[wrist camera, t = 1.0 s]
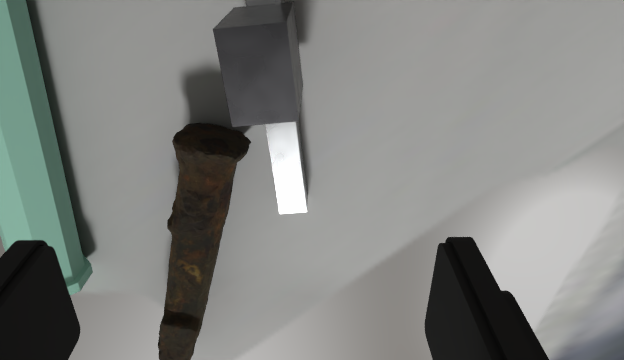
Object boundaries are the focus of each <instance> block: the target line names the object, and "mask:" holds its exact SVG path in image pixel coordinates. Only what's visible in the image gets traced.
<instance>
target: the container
mask: <svg viewBox="0 0 624 360" xmlns="http://www.w3.org/2000/svg"><path fill="white" fill-rule="evenodd" d="M0 236H1V239H2V243H3V246H4V249H5V252H6V251H7V250H8V248H9V247H10V246H11V245H12V244H13V243H14V242H15V241H18V240H43V241H45V242H46V243H47V245H48V246H52V247H53V248H54V250H55V252H56V255H57V258H58V261H59V264H60V267H61V270H62V273H63V276H64V279H65V282H66V285H67V288H68V291H69V294H70V295H72V294H74V293H77V292H79V291H80V290H81V289H82V287H83V286H84V284H85V283H86V281H87V280H88V278H89V277H90V275H91V274H92V272H93V271H92V267H91V263H90V262H89V261H88V260H87V259H86V257H85V256H84V255H83V254H82V251H81V246H80V242H79V237H78V233H77V228H76V224H75V219H74V215H73V210H72V206H71V201H70V197H69V192H68V188H67V183H66V179H65V174H64V170H63V165H62V161H61V156H60V152H59V147H58V143H57V138H56V134H55V129H54V125H53V120H52V116H51V111H50V107H49V102H48V98H47V93H46V89H45V84H44V80H43V75H42V71H41V66H40V62H39V58H38V53H37V49H36V44H35V40H34V35H33V31H32V26H31V22H30V17H29V13H28V8H27V4H26V0H0Z"/></svg>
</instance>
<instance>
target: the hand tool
mask: <svg viewBox="0 0 624 360" xmlns="http://www.w3.org/2000/svg"><path fill="white" fill-rule="evenodd" d="M173 138H174V139H173V141H172V142H173V145H174V148H175V151H176V158H177V160H178V161H179V168H180V173H179V178H178V186H177V193H176V199H175V201H174V203H173V207H172V210H173V212H172V214H171V216H170V218H169V219H168V229H169V231H170V232H171V234H172V243H171V252H170V259H169V272H168V282H167V292H166V300H165V307H164V316H163V319H162V321H161V325H160V331H159V335H160V336H159V342H158V348H159V359H160V360H190V359H191V357H192V355H193V353H194V347H195V343H196V339H197V337H198V336H199V332H200V329H201V326H202V321H203V316H204V313H205V309H206V305H207V301H208V293H209V289H210V285H211V281H212V277H213V272H214V268H215V264H216V259H217V255H218V250H219V245H220V240H221V237H222V231H223V227H224V224H225V220H226V217H227V214H228V210H229V204H230V198H231V193H232V185H233V178H234V174H235V169H236V165H237V162H238V161H240V160H241V159H242V158H243V157H244V156H245V155H246V154H247V151H248V149H249V144H250V143H251V141H250V140H249V139H248V138H247V137H245V136H244V134H243V133H242V132H239V131H235V130H231V129H227V128H226V127H223V126H219V125H214V124H202V123H194V124H188V125H186V126H185V127H184V129H183V130H181V131H179V132H177V133H176V134H175V136H174V137H173Z"/></svg>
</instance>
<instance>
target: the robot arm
mask: <svg viewBox="0 0 624 360" xmlns="http://www.w3.org/2000/svg"><path fill="white" fill-rule="evenodd" d="M425 334H426V338H427V341H428V345H429V348H430V351H431V355H432V358H433V360H549V359H548V357H547V355H546V353H545V352H544V350H543V348H542V346H541V344H540V343H539V341H538V339H537V337H536V336H535V334H534V332H533V330H532V328H531V327H530V325H529V323H528V321H527V320H526V318H525V316H524V314H523V312H522V310H521V309H520V307H519V305H518V303H517V302H516V300H515V298H514V297H513V295H512V294H511V293H510V292H508V291H501V290H500V288H499V286H498V284H497V283H496V281H495V279H494V277H493V275H492V273H491V271H490V269H489V267H488V266H487V264H486V262H485V260H484V258H483V256H482V254H481V253H480V251H479V249H478V247H477V245H476V243H475V241H474V240H473V238H471V237H448V238H447V239H446V242H445V243H440V244H439V245H438V249H437V255H436V261H435V266H434V272H433V278H432V284H431V290H430V295H429V301H428V307H427V312H426V319H425ZM79 335H80V325H79V322H78V319H77V316H76V313H75V310H74V307H73V304H72V300H71V298H70V294H69V291H68V288H67V285H66V282H65V279H64V276H63V273H62V270H61V267H60V264H59V261H58V258H57V255H56V252H55V250H54V248H53V247H52V246H48V245H47V243H46V242H45V241H43V240H18V241H15V242H14V243H13V244H12V245H11V246H10V247H9V248H8V250H7V251H6V252H5V253H4V254H3V255H2V256H1V258H0V360H68V358H69V356H70V355H71V353H72V351H73V349H74V347H75V345H76V343H77V341H78V339H79Z"/></svg>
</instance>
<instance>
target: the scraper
mask: <svg viewBox="0 0 624 360" xmlns="http://www.w3.org/2000/svg"><path fill="white" fill-rule="evenodd" d="M246 5H247V6H245V7H235V8H233V9H232V10H231V11H230V12H229V13H228V14H227V15H226V16H225V17H224V18H223V19H222V20H221V21H220V22H219V24H218V25H217V26H216V27H215V28H214V29H213V32H214V37H215V42H216V47H217V52H218V57H219V62H220V67H221V73H222V78H223V83H224V88H225V93H226V98H227V103H228V108H229V113H230V118H231V123H232V127H239V126H251V125H262V124H265V125H266V131H267V137H268V143H269V150H270V156H271V162H272V169H273V175H274V181H275V188H276V194H277V200H278V207H279V213H280V214H286V213H300V212H307V200H308V195H307V187H306V178H305V170H304V162H303V154H302V145H301V137H300V129H299V114H300V106H301V97H302V89H303V81H302V72H301V63H300V54H299V45H298V36H297V27H296V18H295V9H294V2H284V0H246Z"/></svg>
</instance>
